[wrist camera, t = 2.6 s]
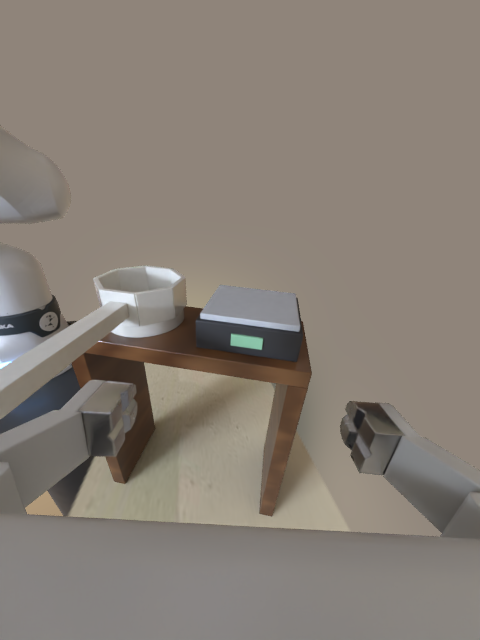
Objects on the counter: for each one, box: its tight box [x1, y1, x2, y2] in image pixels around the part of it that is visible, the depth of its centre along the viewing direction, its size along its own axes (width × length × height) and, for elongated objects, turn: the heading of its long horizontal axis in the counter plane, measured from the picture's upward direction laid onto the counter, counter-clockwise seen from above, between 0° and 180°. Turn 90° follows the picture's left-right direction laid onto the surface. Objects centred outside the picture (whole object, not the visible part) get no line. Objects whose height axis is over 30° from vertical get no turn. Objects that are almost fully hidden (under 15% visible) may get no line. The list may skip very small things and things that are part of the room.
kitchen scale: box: [196, 285, 303, 362], centre depth 20 cm, size 8×7×3 cm
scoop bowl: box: [0, 266, 187, 419], centre depth 16 cm, size 7×19×4 cm, turn 171°
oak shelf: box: [72, 306, 312, 516], centre depth 26 cm, size 20×8×22 cm, turn 81°
